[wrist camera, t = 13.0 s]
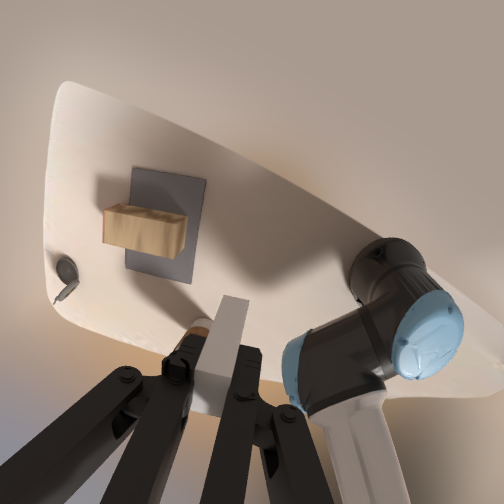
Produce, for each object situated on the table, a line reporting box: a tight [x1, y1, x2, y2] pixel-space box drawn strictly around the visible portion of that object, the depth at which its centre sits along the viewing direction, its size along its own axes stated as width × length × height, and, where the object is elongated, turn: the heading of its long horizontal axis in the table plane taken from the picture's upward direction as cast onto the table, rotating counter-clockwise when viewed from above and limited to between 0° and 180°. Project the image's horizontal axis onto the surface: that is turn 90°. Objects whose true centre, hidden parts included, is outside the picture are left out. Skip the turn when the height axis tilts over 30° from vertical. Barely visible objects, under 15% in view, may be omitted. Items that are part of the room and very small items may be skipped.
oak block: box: [103, 204, 188, 259], centre depth 52 cm, size 6×6×14 cm
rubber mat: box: [126, 168, 206, 285], centre depth 55 cm, size 14×20×1 cm
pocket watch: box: [53, 258, 79, 305], centre depth 57 cm, size 8×8×10 cm
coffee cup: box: [169, 318, 213, 356], centre depth 55 cm, size 8×8×15 cm
